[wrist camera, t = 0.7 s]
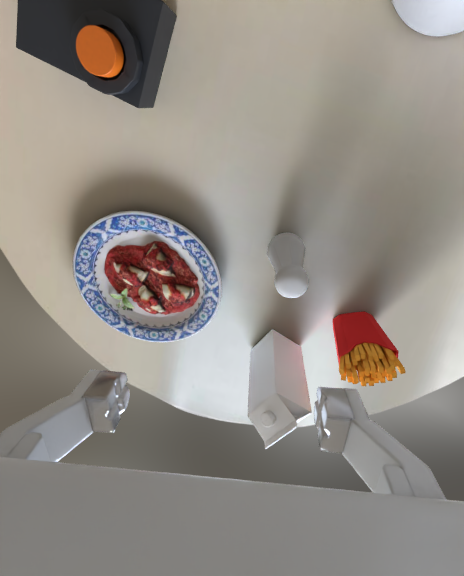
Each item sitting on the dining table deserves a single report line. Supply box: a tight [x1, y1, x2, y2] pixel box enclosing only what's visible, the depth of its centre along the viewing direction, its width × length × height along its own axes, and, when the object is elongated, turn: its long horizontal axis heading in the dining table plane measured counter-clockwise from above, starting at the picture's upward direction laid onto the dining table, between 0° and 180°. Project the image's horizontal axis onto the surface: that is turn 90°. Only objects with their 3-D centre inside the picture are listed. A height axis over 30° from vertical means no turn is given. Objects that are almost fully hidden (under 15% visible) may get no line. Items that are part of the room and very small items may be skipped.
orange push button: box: [76, 25, 124, 78], centre depth 31 cm, size 4×4×2 cm
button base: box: [16, 0, 177, 108], centre depth 33 cm, size 14×10×8 cm
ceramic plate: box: [73, 211, 222, 342], centre depth 52 cm, size 26×26×3 cm
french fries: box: [333, 312, 405, 386], centre depth 49 cm, size 9×4×13 cm, turn 102°
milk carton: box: [248, 329, 312, 449], centre depth 52 cm, size 7×7×19 cm
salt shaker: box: [267, 232, 309, 298], centre depth 43 cm, size 6×6×13 cm
